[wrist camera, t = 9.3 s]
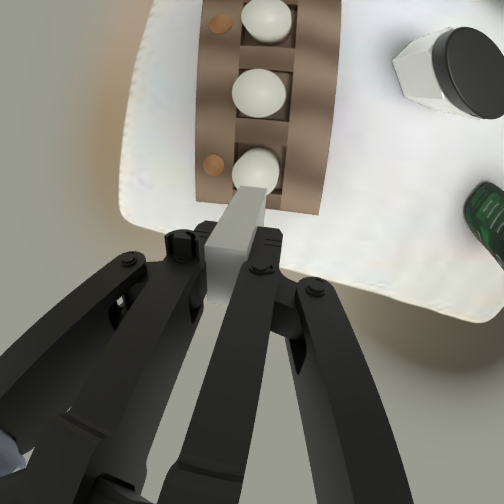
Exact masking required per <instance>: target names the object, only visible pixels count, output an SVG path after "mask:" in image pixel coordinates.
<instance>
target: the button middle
mask: <svg viewBox="0 0 504 504" xmlns="http://www.w3.org/2000/svg"><path fill="white" fill-rule="evenodd" d="M232 98H233V101H234V103H235V105H236V107H237V108H238V109H239V110H240V111H241V112H242V113H244V114H246V115H248V116H251V117H258V118H260V117H266V116H269V115H271V114H273V113H275V112H277V111H278V110H280V109H281V108H282V106H283V105H284V103H285V101H286V89H285V86H284V85H283V83H282V81H281V80H280V79H279V77H278V76H277V75H275V74H274V73H272V72H270V71H268V70H265V69H252V70H249V71H246V72H244V73H243V74H241V75H240V76H239V77H238V78H237V79H236V81H235V83H234V85H233V88H232Z"/></svg>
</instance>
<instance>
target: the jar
mask: <svg viewBox="0 0 504 504" xmlns="http://www.w3.org/2000/svg"><path fill="white" fill-rule="evenodd" d="M392 63H393V66H394V68H395V71H396V74H397V77H398V79H399V82H400V85H401V88H402V91H403V95H404V97H405V98H407V99H410V100H412V101H415V102H417V103H419V104H422V105H424V106H426V107H428V108H431V109H433V110H435V111H439V112H445V113H450V114H455V115H459V116H464V117H468V118H472V119H476V120H479V119H480V118H482V119H497V118H499V117H501V116H503V115H504V56H503V54H502V53H501V51H500V50H499V48H498V47H497V46H496V44H495V43H494V42H493V41H492V40H491V39H490V38H489V37H487V36H486V35H485V34H483V33H482V32H480V31H478V30H476V29H473V28H469V27H460V28H456V29H454V28H452V27H448V28H445V29H442V30H439V31H436V32H433V33H431V34H428V35H425V36H423V37H420V38H418V39H415V40H413V41H411V42H410V43H409V44H408V45H407V46H406V47H405V48H404V49H403V50H402V51H401V52H400V53H399V54H398V55H397V56H396V57H395V58H394V59H393V60H392Z"/></svg>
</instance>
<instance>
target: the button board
mask: <svg viewBox="0 0 504 504" xmlns="http://www.w3.org/2000/svg"><path fill="white" fill-rule="evenodd" d="M250 1H252V0H203V6H202V16H201V27H200V39H199V53H198V69H197V91H196V128H195V179H196V201H198V202H209V203H219V204H229V203H230V202H231V200H232V198H233V197H234V195H235V193H236V192H237V190H238V189H237V188H236V187H235V185H234V183H233V179H232V171H233V167H234V165H235V163H236V162H237V161H238V160H239V159H240V158H241V157H242V155H243V154H244V153H245V152H246V151H247V150H248V149H250V148H252V147H254V146H259V145H262V146H267V147H269V148H271V149H273V150H274V151H275V152H276V153H277V155H278V156H279V159H280V163H281V166H280V172H279V176H278V181H277V184H276V186H275V188H274V189H273V191H272V192H270V193H269V194H268V195H266V205H265V208H266V209H274V210H282V211H290V212H297V213H305V214H312V215H318V214H319V209H320V203H321V197H322V191H323V185H324V179H325V172H326V166H327V159H328V152H329V145H330V137H331V130H332V121H333V113H334V104H335V94H336V84H337V73H338V60H339V46H340V27H341V0H281V1H282V2H284V3H285V4H286V5H287V6H288V8H289V9H290V12H291V23H292V32H291V35H290V37H289V38H288V39H287V40H286V41H285V42H284V43H282V44H280V45H276V46H266V45H262V44H260V43H258V42H257V41H255V40H254V39H253V37H252V36H251V34H250V33H249V32H248V30H247V29H246V27H245V26H244V25H243V23H242V20H241V13H242V10H243V8H244V7H245V6H246V5H247V4H248V3H249V2H250ZM252 69H265V70H268V71H270V72H272V73H274V74H275V75H277V76H278V77H279V79H280V80H281V81H282V83H283V85H284V86H285V89H286V101H285V103H284V105H283V106H282V108H281V109H280V110H278V111H277V112H275V113H273V114H271V115H269V116H266V117H260V118H258V117H251V116H248V115H246V114H244V113H242V112H241V111H240V110H239V109H238V108H237V107H236V105H235V103H234V101H233V98H232V88H233V85H234V83H235V81H236V79H237V78H238V77H239V76H240V75H241V74H243V73H244V72H246V71H249V70H252Z"/></svg>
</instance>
